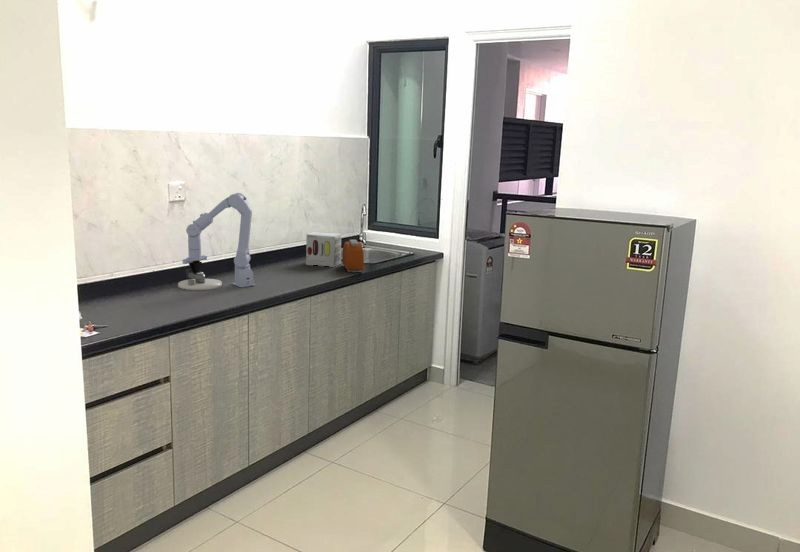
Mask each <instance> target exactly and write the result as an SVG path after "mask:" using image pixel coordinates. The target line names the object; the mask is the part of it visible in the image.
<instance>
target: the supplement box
mask: <svg viewBox="0 0 800 552" xmlns="http://www.w3.org/2000/svg"><path fill="white" fill-rule="evenodd" d="M305 242H306V245H305V246H306V247H305V249H306V250H305V251H306V253H305V254H306V255H305V265H306V266H313V265H318V266H317V267H324V266H329V267H328V268H336V267H338V266H339V264H340V265H341V264H342V233H339V232H324V231H323V232H322V231H312V232H309V233H306V241H305ZM337 265H338V266H337ZM335 266H336V267H335Z"/></svg>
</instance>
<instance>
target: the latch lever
mask: <svg viewBox="0 0 800 552" xmlns="http://www.w3.org/2000/svg"><path fill="white" fill-rule="evenodd" d="M185 274H186V275H185V276H186V280H189V279H195V282H196V283H205V279H206V274H205V273H204V272H203V271H198V272H197V273H194V272H192V269H185Z"/></svg>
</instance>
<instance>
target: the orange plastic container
mask: <svg viewBox="0 0 800 552" xmlns="http://www.w3.org/2000/svg"><path fill="white" fill-rule="evenodd" d="M364 256H365V255H364V247H363V244H362V242H360V241H357V239H349V240H348V241H345V242H344V243H343V246H342V253H341V263H342V265H343V267H344V266H345V267H344V268H345V269H346V270H347V271H348V272H347V271H346V272H347V273H362V271H364V264H365V258H364Z"/></svg>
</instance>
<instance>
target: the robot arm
mask: <svg viewBox="0 0 800 552" xmlns="http://www.w3.org/2000/svg"><path fill="white" fill-rule="evenodd" d="M230 208H233V209H235V210H237V212H238V213H239V214H240V222H239V234H238V244H237V245H238V246H237V250H236V254H235V256H234V258H233V263H234V282H231V285H234V286H236V287H238V288H245V287H252V286H254V287H255V286H256V284H255V283H254V282H255V281H254V272H253V270H252V269H251V264H250V261H251V259H252V258H251V255H250V247H249V246H250V238H251V237H250V236H251V229H252V228H251V227H252V216H253V210H252V208H251V205H250V204H249V201H248V198H247V197H246V196H245V195H244V194H243V193H240V192H236V193H235V192H234V193H232V194H230V195H229V196H228V197H226V198H224V199H223V200H221V201H220V202H219V203H218V204H217V205H216V206H215V207H214V208H212V209H211V210H210V212H204V213H201V214H199V217H198V218H197V219H196V220H193V221H192V223H191V224H188V226H187V227H186V234H187V243H188V244H187V246H188V247H187V249H188V257H186V258H184V259H182V265H183V264H184V265H188V266H189V267H190V270H192V272H194V273H197V272H200V268H201V266H202V263H203V262H202V261H206V260H208V256H207V255H202V244H201V243H202V241H201V233H202V232H203V231H204V230H205V229H206V228H208V227H209V226H210V225H211V224H213V223H214V222H213V221H214V218H216V216H218V215H219V214H221V213H222V212H223V211H224V210H226V209H230Z"/></svg>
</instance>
